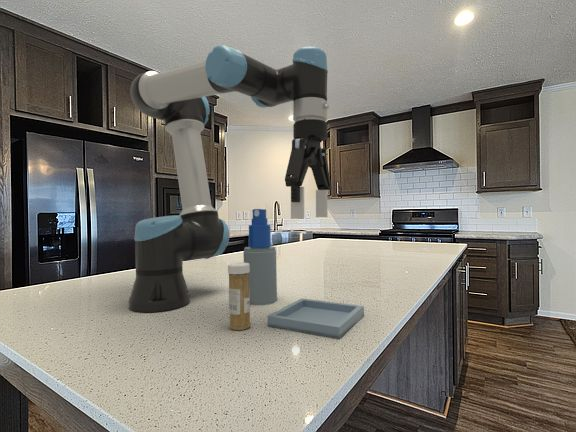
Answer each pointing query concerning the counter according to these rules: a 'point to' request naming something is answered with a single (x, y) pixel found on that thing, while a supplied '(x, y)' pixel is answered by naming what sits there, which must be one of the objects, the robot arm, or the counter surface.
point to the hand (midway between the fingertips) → (310, 218)
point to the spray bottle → (261, 261)
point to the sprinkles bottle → (239, 295)
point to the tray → (317, 317)
